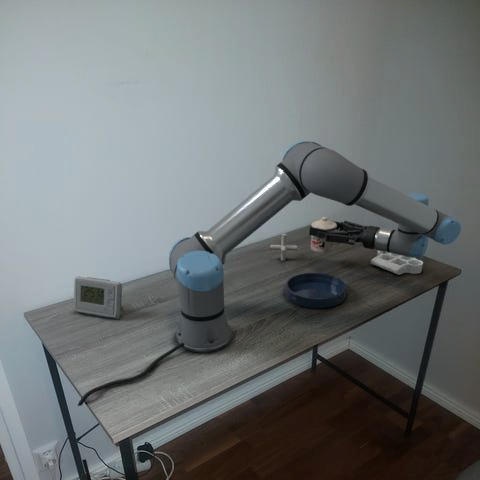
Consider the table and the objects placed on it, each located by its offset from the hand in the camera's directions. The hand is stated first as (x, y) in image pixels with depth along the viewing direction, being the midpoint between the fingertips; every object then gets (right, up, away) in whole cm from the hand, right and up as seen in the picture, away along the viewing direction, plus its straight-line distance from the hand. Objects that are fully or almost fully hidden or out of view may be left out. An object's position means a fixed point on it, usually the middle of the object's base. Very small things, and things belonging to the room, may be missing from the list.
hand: (316, 226), depth 160 cm
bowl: (-3, -25, -14) cm, 29 cm away
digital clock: (-70, -31, -23) cm, 80 cm away
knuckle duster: (+30, -14, +4) cm, 33 cm away
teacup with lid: (+4, -8, +2) cm, 9 cm away
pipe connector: (-11, -10, +11) cm, 18 cm away
